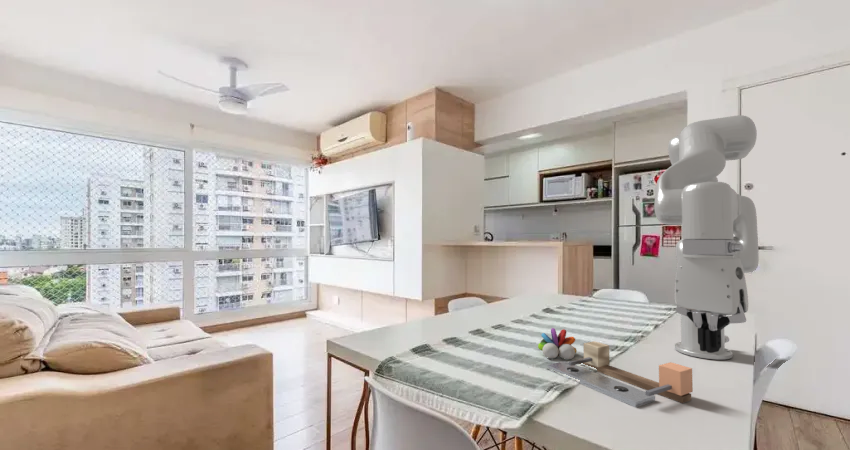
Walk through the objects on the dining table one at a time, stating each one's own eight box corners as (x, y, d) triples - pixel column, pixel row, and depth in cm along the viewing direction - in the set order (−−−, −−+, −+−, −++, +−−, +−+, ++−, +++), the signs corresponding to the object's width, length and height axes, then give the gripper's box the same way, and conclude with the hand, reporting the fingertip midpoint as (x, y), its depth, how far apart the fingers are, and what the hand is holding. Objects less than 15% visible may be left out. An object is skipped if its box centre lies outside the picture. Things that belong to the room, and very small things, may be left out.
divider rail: (588, 362, 93) (587, 339, 93) (692, 399, 72) (692, 370, 72) (556, 369, 88) (556, 345, 88) (658, 411, 67) (658, 380, 67)
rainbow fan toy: (579, 362, 93) (579, 333, 93) (539, 360, 95) (539, 331, 95) (573, 352, 101) (572, 325, 102) (536, 350, 103) (536, 323, 104)
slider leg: (671, 384, 75) (670, 362, 75) (692, 391, 72) (692, 368, 72) (637, 395, 70) (636, 371, 70) (658, 403, 67) (657, 378, 67)
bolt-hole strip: (565, 365, 91) (565, 360, 91) (655, 400, 71) (655, 395, 71) (547, 369, 88) (546, 364, 88) (635, 407, 68) (635, 401, 69)
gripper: (768, 250, 63) (772, 360, 62) (676, 249, 76) (677, 339, 75) (747, 250, 60) (750, 366, 59) (654, 248, 73) (655, 343, 72)
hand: (709, 350), depth 67 cm, fingers closed
